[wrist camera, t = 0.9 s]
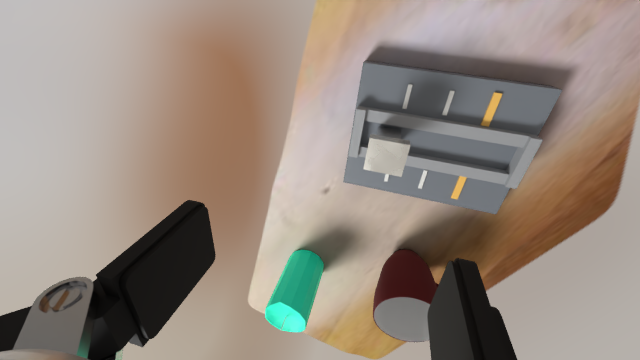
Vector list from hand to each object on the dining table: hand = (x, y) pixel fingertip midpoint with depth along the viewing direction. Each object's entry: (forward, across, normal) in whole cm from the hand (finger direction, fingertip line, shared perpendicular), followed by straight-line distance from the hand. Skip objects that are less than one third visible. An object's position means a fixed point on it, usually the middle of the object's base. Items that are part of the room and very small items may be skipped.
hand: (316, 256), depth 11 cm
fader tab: (+22, -2, +2) cm, 22 cm away
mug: (+24, -10, +22) cm, 34 cm away
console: (+24, -8, +3) cm, 25 cm away
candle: (+24, +6, +27) cm, 37 cm away
